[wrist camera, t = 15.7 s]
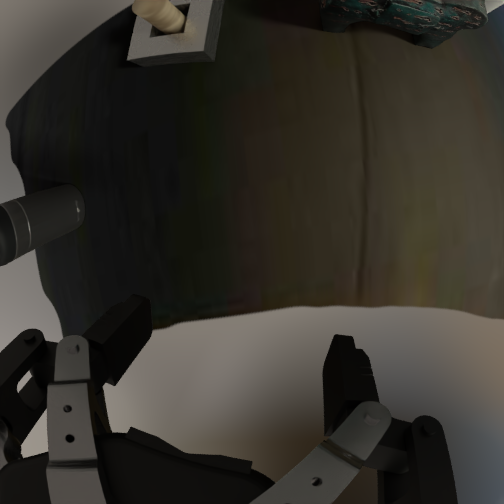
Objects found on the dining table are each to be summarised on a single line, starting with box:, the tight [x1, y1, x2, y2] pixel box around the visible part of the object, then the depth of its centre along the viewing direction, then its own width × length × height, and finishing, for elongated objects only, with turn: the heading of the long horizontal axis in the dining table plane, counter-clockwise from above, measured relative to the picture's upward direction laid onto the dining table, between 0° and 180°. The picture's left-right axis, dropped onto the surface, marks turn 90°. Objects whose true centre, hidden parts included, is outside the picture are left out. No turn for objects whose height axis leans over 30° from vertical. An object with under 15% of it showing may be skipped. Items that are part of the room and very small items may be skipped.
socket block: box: [127, 0, 225, 67], centre depth 29 cm, size 12×12×5 cm
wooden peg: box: [132, 0, 187, 35], centre depth 26 cm, size 4×4×12 cm
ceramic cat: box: [319, 0, 488, 49], centre depth 18 cm, size 20×6×20 cm, turn 93°
